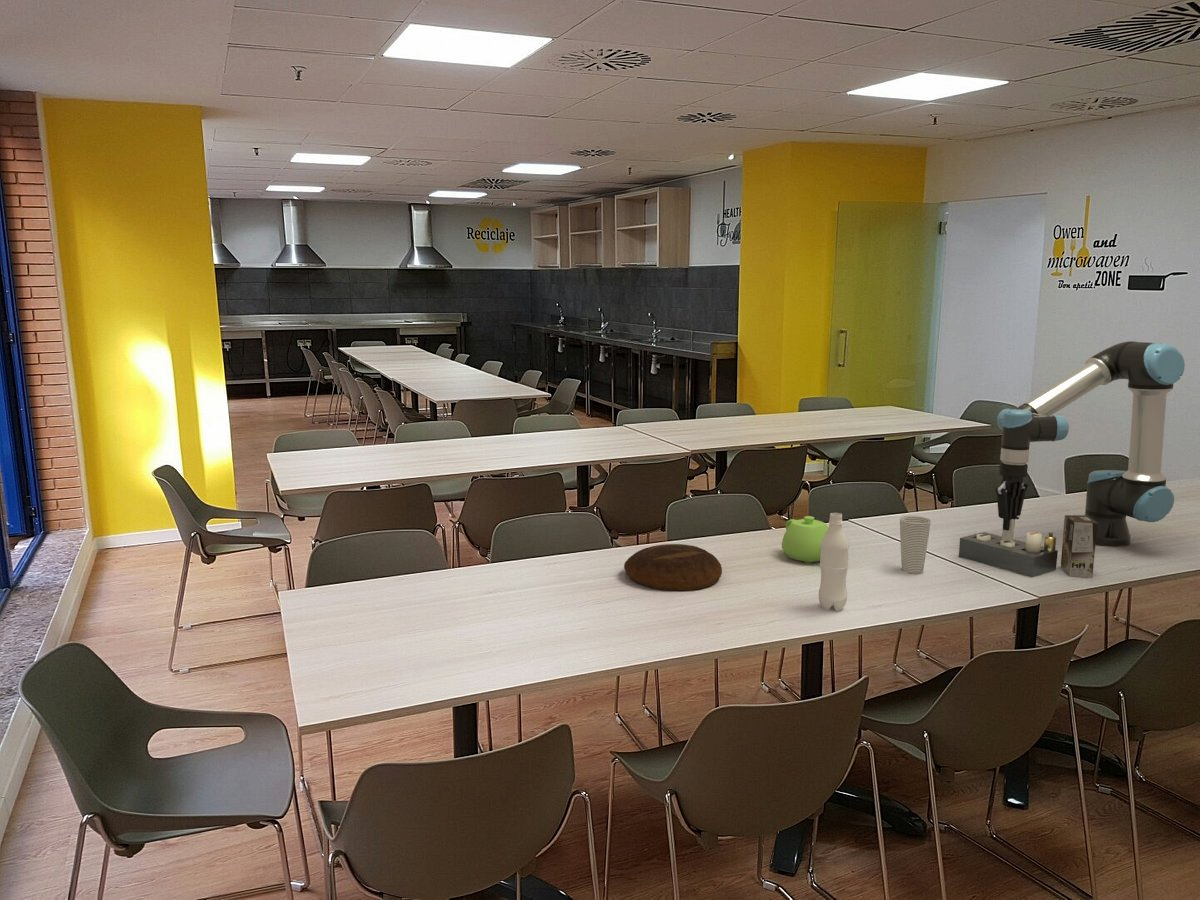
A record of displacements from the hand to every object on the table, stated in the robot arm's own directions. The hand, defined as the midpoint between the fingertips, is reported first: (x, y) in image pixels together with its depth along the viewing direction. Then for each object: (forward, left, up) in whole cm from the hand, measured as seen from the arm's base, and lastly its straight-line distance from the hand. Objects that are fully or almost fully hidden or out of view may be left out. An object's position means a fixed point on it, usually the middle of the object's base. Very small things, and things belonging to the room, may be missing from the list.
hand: (1007, 540), depth 267 cm
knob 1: (0, -8, -7) cm, 11 cm away
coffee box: (-9, +16, -7) cm, 20 cm away
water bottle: (+71, -3, -7) cm, 71 cm away
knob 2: (0, 0, -7) cm, 7 cm away
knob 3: (0, +8, -3) cm, 9 cm away
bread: (+90, -47, -8) cm, 102 cm away
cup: (+29, -11, -7) cm, 32 cm away
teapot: (+45, -36, -8) cm, 58 cm away
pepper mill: (-4, +11, -1) cm, 11 cm away
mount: (0, 0, -7) cm, 7 cm away
